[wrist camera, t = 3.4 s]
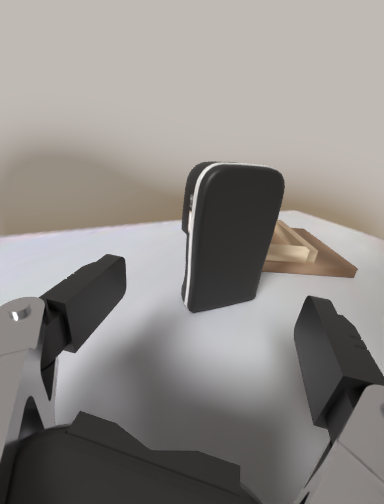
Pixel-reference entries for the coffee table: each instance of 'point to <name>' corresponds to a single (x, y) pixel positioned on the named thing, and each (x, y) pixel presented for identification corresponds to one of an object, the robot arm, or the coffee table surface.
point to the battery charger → (227, 231)
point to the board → (303, 254)
